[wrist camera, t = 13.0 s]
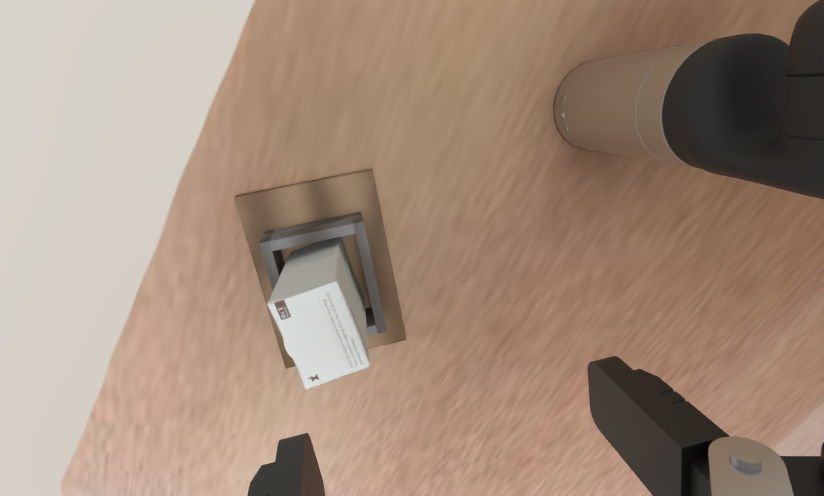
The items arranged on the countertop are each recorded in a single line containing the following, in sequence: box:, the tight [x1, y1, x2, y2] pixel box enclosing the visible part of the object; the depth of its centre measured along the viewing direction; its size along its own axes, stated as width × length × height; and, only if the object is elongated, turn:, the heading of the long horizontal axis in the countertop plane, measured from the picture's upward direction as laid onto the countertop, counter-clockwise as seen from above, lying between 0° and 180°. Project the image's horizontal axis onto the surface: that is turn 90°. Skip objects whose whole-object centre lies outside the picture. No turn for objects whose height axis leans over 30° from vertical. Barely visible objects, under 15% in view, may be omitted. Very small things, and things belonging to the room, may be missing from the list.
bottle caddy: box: [234, 169, 406, 368], centre depth 48 cm, size 14×20×6 cm
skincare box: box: [267, 237, 370, 390], centre depth 43 cm, size 8×6×15 cm
